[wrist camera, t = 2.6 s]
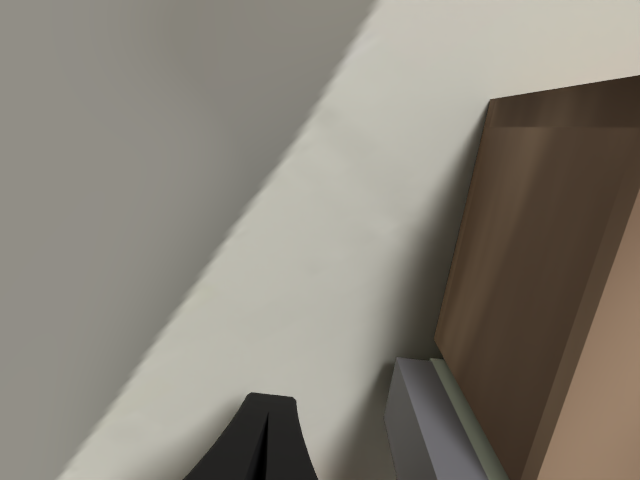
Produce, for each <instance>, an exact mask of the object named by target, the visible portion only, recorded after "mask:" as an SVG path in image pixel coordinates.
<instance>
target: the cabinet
mask: <svg viewBox="0 0 640 480" xmlns="http://www.w3.org/2000/svg"><path fill="white" fill-rule="evenodd" d="M434 341H435V343H436V345H437V346H438V348H439V350H440V352H441V354H442V356H443V357H444V359H445V361H446V363H447V365H448V367H449V369H450V370H451V372H452V374H453V376H454V378H455V380H456V382H457V383H458V385H459V387H460V389H461V391H462V393H463V394H464V396H465V398H466V400H467V402H468V404H469V406H470V407H471V409H472V411H473V413H474V415H475V417H476V419H477V420H478V422H479V424H480V426H481V428H482V430H483V431H484V433H485V435H486V437H487V439H488V441H489V443H490V444H491V446H492V448H493V450H494V452H495V454H496V456H497V457H498V459H499V461H500V463H501V465H502V467H503V468H504V470H505V472H506V474H507V476H508V478H509V480H640V75H638V76H632V77H626V78H620V79H613V80H607V81H601V82H595V83H589V84H583V85H576V86H570V87H564V88H558V89H552V90H545V91H539V92H533V93H527V94H521V95H514V96H508V97H502V98H496V99H490V103H489V108H488V112H487V116H486V120H485V124H484V129H483V133H482V137H481V141H480V146H479V150H478V154H477V158H476V162H475V167H474V171H473V175H472V179H471V183H470V188H469V192H468V196H467V200H466V205H465V209H464V213H463V217H462V221H461V226H460V230H459V234H458V238H457V242H456V247H455V251H454V255H453V259H452V264H451V268H450V272H449V276H448V280H447V285H446V289H445V293H444V297H443V301H442V306H441V310H440V314H439V318H438V323H437V327H436V331H435V335H434Z"/></svg>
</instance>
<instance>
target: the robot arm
mask: <svg viewBox="0 0 640 480" xmlns="http://www.w3.org/2000/svg"><path fill="white" fill-rule="evenodd" d="M183 480H318V478H317V475H316V473H315V470H314V468H313V465H312V463H311V460H310V457H309V454H308V451H307V448H306V445H305V442H304V438H303V435H302V431H301V427H300V423H299V419H298V413H297V405H296V400H295V399H294V398H293V397H287V396H279V395H270V394H261V393H253V392H251V393H250V394H248V395H247V396H246V398H245V400H244V402H243V404H242V405H241V407H240V409H239V410H238V412H237V413H236V415H235V416H234V418H233V419H232V421H231V422H230V424H229V425H228V426H227V428H226V429H225V430H224V432H223V433H222V434H221V436H220V437H219V438H218V440H217V441H216V442H215V444H214V445H213V446H212V447H211V448H210V450H209V451H208V452H207V453H206V454H205V455H204V457H203V458H202V459H201V460H200V461H199V463H198V464H197V465H196V466H195V467H194V468H193V469H192V470H191V471H190V473H189V474H188V475H187V476H186V477H185V478H184V479H183Z"/></svg>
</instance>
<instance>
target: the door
mask: <svg viewBox="0 0 640 480" xmlns="http://www.w3.org/2000/svg"><path fill="white" fill-rule="evenodd" d="M384 422H385V426H386V431H387V435H388V440H389V444H390V449H391V453H392V458H393V462H394V467H395V471H396V476H397V480H509V478H508V476H507V474H506V472H505V470H504V468H503V467H502V465H501V463H500V461H499V459H498V457H497V456H496V454H495V452H494V450H493V448H492V446H491V444H490V443H489V441H488V439H487V437H486V435H485V433H484V431H483V430H482V428H481V426H480V424H479V422H478V420H477V419H476V417H475V415H474V413H473V411H472V409H471V407H470V406H469V404H468V402H467V400H466V398H465V396H464V394H463V393H462V391H461V389H460V387H459V385H458V383H457V382H456V380H455V378H454V376H453V374H452V372H451V370H450V369H449V367H448V365H447V363H446V361H445V360H443V359H435V358H430V361H425V360H417V359H408V358H400V357H396V361H395V366H394V370H393V375H392V380H391V385H390V389H389V394H388V399H387V404H386V408H385V413H384Z"/></svg>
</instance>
